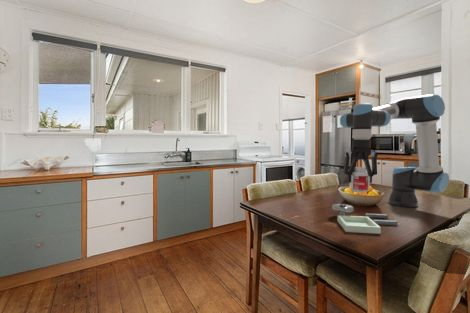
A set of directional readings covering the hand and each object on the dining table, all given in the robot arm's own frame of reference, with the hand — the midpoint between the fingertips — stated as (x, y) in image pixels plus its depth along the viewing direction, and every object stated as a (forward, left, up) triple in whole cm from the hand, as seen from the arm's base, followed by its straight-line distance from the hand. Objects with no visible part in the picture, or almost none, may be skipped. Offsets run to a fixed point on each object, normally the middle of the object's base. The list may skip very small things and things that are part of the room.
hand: (359, 189), depth 108 cm
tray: (0, 0, -17) cm, 17 cm away
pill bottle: (0, 0, -1) cm, 1 cm away
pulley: (+3, -13, -17) cm, 22 cm away
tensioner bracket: (-14, -10, -17) cm, 24 cm away
